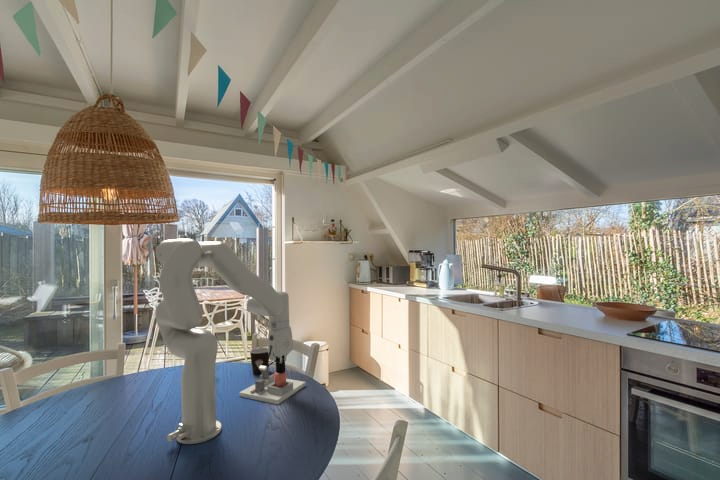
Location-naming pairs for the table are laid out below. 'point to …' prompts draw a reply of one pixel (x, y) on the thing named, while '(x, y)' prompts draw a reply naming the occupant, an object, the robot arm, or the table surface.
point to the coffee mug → (259, 359)
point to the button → (280, 379)
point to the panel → (273, 390)
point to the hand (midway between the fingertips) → (280, 372)
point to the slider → (259, 385)
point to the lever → (264, 371)
